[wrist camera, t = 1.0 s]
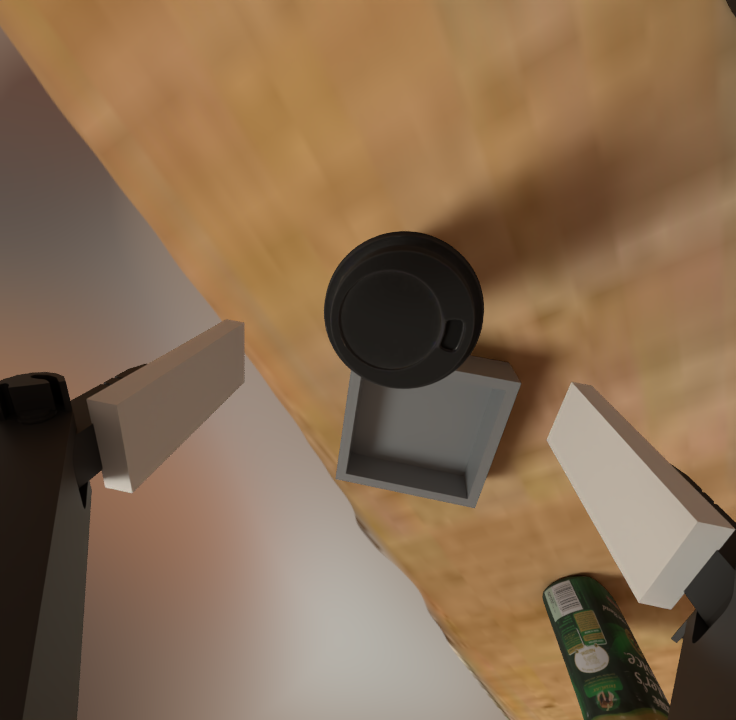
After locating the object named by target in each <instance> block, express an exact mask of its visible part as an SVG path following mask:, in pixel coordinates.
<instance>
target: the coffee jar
mask: <svg viewBox="0 0 736 720" xmlns="http://www.w3.org/2000/svg"><path fill="white" fill-rule="evenodd" d="M543 601H544V604H545V607H546V610H547V613H548V616H549V619H550V622H551V625H552V627H553V630H554V633H555V636H556V639H557V641H558V644H559V647H560V650H561V653H562V656H563V659H564V662H565V664H566V667H567V670H568V673H569V676H570V679H571V682H572V685H573V687H574V690H575V693H576V696H577V699H578V702H579V705H580V708H581V711H582V715H583V718H584V720H667V719H668V714H669V709H670V705H669V703H668V701H667V699H666V697H665V695H664V693H663V691H662V690H661V688H660V686H659V684H658V682H657V680H656V678H655V676H654V674H653V672H652V670H651V668H650V667H649V665H648V663H647V661H646V659H645V657H644V655H643V653H642V651H641V650H640V648H639V646H638V644H637V642H636V640H635V638H634V636H633V634H632V632H631V630H630V628H629V626H628V624H627V622H626V620H625V618H624V616H623V615H622V613H621V611H620V609H619V607H618V605H617V604H616V602H615V600H614V599H613V597H612V596H611V595H610V594H609V592H608V591H607V590H606V589H605V588H604V587H603V586H602V585H600V584H599V583H598V582H597V581H596V580H594V579H592V578H590V577H586V576H585V577H583V576H578V577H566V578H563V579H560V580H558V581H555V582H554V583H552V584H551V585H550V586H549V587H547V588H546V589H545V591H544V592H543Z"/></svg>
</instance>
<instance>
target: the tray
mask: <svg viewBox="0 0 736 720" xmlns="http://www.w3.org/2000/svg"><path fill="white" fill-rule="evenodd" d="M520 385H521V382H520V380H519V379H518V377H517V375H516V374H515V372H514V370H513V369H512V367H511V365H510V364H509V363H508V362H502V361H497V360H491V359H486V358H481V357H475V356H470V355H469V357H468V358H467V359H466V361H465V362H464V363H463V364H462V365H461V366H460V367H459V368H458V369H457V370H455V371H454V372H453V373H452V374H450V375H449V376H447V377H445V378H444V379H442V380H440V381H438V382H436V383H433V384H430V385H427V386H424V387H419V388H412V389H395V388H388V387H384V386H380V385H377V384H374V383H372V382H369V381H367V380H365V379H364V378H362V377H360V376H359V375H357V374H356V373H354V372H353V371H352V370H351V374H350V381H349V388H348V395H347V402H346V409H345V416H344V423H343V430H342V437H341V444H340V451H339V458H338V465H337V472H336V479H338V480H343V481H348V482H353V483H357V484H362V485H367V486H372V487H376V488H381V489H386V490H391V491H395V492H400V493H405V494H410V495H415V496H419V497H424V498H429V499H434V500H438V501H443V502H448V503H453V504H457V505H462V506H467V507H472V508H475V507H476V504H477V501H478V498H479V496H480V493H481V490H482V488H483V485H484V482H485V480H486V477H487V474H488V471H489V469H490V466H491V463H492V461H493V458H494V455H495V453H496V450H497V447H498V445H499V442H500V439H501V436H502V434H503V431H504V428H505V426H506V423H507V420H508V418H509V415H510V412H511V409H512V407H513V404H514V401H515V399H516V396H517V393H518V391H519V388H520Z"/></svg>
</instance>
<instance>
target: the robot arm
mask: <svg viewBox="0 0 736 720" xmlns="http://www.w3.org/2000/svg"><path fill="white" fill-rule="evenodd" d="M726 1H727V4H728V6H729V7H730V9H731V11H732V12H733V14H734V15H735V16H736V0H726ZM243 383H244V322H238V321H233V320H227V319H226V320H224V321H223V322H221V323H219V324H217V325H216V326H214V327H212V328H210V329H208V330H207V331H205V332H203V333H201V334H200V335H198V336H196V337H194V338H193V339H191V340H189V341H187V342H186V343H184V344H182V345H180V346H179V347H177V348H175V349H173V350H172V351H170V352H168V353H166V354H165V355H163V356H161V357H159V358H158V359H156V360H154V361H152V362H151V363H149V364H143V365H140V366H137V367H133V368H130V369H128V370H126V371H124V372H122V373H120V374H119V375H117V376H115V378H111V379H109V380H108V381H106V382H104V384H100V385H99V386H97V387H95V388H93V389H91V390H90V391H88V392H86V393H84V394H82V395H80V396H79V397H77V398H75V399H73V400H71V401H70V397H69V394H68V389H67V385H66V381H65V378H64V376H61V375H59V374H56V373H49V372H40V373H39V372H38V373H29V374H21V375H16V376H13V377H10V378H6V379H3V380H1V381H0V720H77V711H78V696H79V680H80V663H81V647H82V633H83V616H84V602H85V586H86V571H87V555H88V540H89V523H90V507H91V493H92V490H91V486H90V481H89V480H90V479H91V478H93V477H94V476H95V475H96V474H98V473H99V472H100V471H101V470H102V474H103V478H104V482H105V487H106V488H111V489H116V490H120V491H125V492H129V493H133V492H134V491H135V490H136V489H137V488H138V487H139V486H140V485H141V484H142V483H143V482H144V481H145V480H146V479H147V478H148V477H149V476H150V475H151V474H152V473H153V472H154V471H155V470H156V469H157V468H158V467H159V466H160V465H161V464H162V463H163V462H164V461H165V460H166V459H167V458H168V457H169V456H170V455H171V454H172V453H173V452H174V451H175V450H176V449H177V448H178V447H179V446H180V445H181V444H182V443H183V442H184V441H185V440H186V439H187V438H188V437H189V436H190V435H191V434H192V433H193V432H194V431H195V430H196V429H198V427H200V426H201V424H203V422H205V421H206V420H207V419H208V418H209V417H210V415H211V414H212V413H214V412H215V411H216V410H217V409H218V408H219V407H220V405H222V404H223V403H224V402H225V401H226V400H227V399H228V397H230V396H231V395H232V394H233V393H234V392H235V391H236V390H237V389H238V388H239V386H241V385H242V384H243ZM547 442H548V443H549V445H550V447H551V449H552V450H553V452H554V454H555V456H556V457H557V459H558V461H559V463H560V465H561V466H562V468H563V470H564V472H565V473H566V475H567V477H568V479H569V480H570V482H571V484H572V486H573V488H574V489H575V491H576V493H577V495H578V496H579V498H580V500H581V502H582V503H583V505H584V507H585V509H586V511H587V512H588V514H589V516H590V518H591V519H592V521H593V523H594V525H595V526H596V528H597V530H598V532H599V534H600V535H601V537H602V539H603V541H604V542H605V544H606V546H607V548H608V549H609V551H610V553H611V555H612V557H613V558H614V560H615V562H616V564H617V565H618V567H619V569H620V571H621V572H622V574H623V576H624V578H625V580H626V581H627V583H628V585H629V587H630V588H631V590H632V592H633V594H634V595H635V597H636V599H637V601H638V603H642V604H647V605H651V606H656V607H661V608H665V609H670V610H671V609H672V608H673V607H674V605H675V604H676V603H677V602H678V600H679V599H680V598H681V597H682V596H683V594H684V593H685V594H686V596H687V597H688V599H689V600H690V601H691V603H692V604H693V606H694V607H695V611H694V612H693V613H692V614H691V615H690V616H689V618H688V619H687V620H686V621H685V622H684V624H683V625H682V626H681V627H680V628H679V629H678V631H677V632H676V633H675V634H674V635H673V637H672V638H671V639H672V640H673V641H675V642H676V643H677V642H678V641H679V640H680V639H681V638H683V643H682V649H681V654H680V659H679V664H678V669H677V674H676V679H675V684H674V689H673V694H672V699H671V704H670V709H669V714H668V719H667V720H736V522H734V521H733V520H732V519H731V518H730V517H729V516H728V515H727V514H726V513H725V512H724V511H723V510H722V509H721V508H720V507H719V506H718V505H717V504H714V501H713V500H712V499H711V498H710V497H709V496H708V495H707V494H706V493H704V492H702V489H701V488H700V487H699V486H698V485H697V484H696V483H695V482H694V481H693V480H692V479H691V478H690V477H689V476H687V475H686V474H684V473H683V472H681V471H680V470H679V469H677V468H676V467H674V466H673V465H671V464H670V463H669V462H668V461H667V460H666V459H665V458H664V457H663V456H662V455H661V454H660V453H659V452H658V451H657V450H656V449H655V448H654V447H653V446H652V445H651V444H650V443H649V442H648V441H647V440H646V439H645V438H644V437H643V436H642V435H641V434H640V433H639V432H638V431H637V430H636V429H635V428H634V427H633V426H632V425H631V424H630V423H629V422H628V421H627V420H626V419H625V418H624V417H623V416H622V415H621V414H620V413H619V412H618V411H617V410H616V409H615V408H614V407H613V406H612V405H611V404H610V403H609V402H608V401H607V400H606V399H605V398H604V397H603V396H602V395H601V394H600V393H599V392H598V391H597V390H596V389H595V388H594V387H593V386H591V385H586V384H580V383H575V382H571V384H570V387H569V389H568V391H567V394H566V396H565V398H564V401H563V403H562V405H561V408H560V410H559V412H558V415H557V417H556V419H555V422H554V424H553V426H552V429H551V431H550V433H549V436H548V438H547Z"/></svg>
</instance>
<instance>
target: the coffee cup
mask: <svg viewBox="0 0 736 720" xmlns="http://www.w3.org/2000/svg"><path fill="white" fill-rule="evenodd" d="M483 315H484V301H483V294H482V289H481V286H480V283H479V280H478V278H477V276H476V274H475V272H474V270H473V268H472V267H471V266H470V264H469V263H468V261H467V260H466V259H465V258H464V257H463V256H462V255H461V254H460V253H459V252H458V251H457V250H456V249H454V248H453V247H452V246H450V245H449V244H447V243H446V242H444V241H442V240H440V239H438V238H436V237H433V236H430V235H427V234H423V233H418V232H409V231H400V232H391V233H386V234H382V235H379V236H376V237H374V238H371V239H369V240H367V241H365V242H363V243H362V244H360V245H359V246H357V247H356V248H355V249H353V250H352V251H351V252H350V253H349V254H348V255H347V256H346V257H345V258H344V259H343V260H342V261H341V263H340V264H339V265H338V267H337V268H336V270H335V272H334V274H333V276H332V278H331V280H330V283H329V285H328V289H327V293H326V298H325V305H324V319H325V326H326V331H327V334H328V337H329V340H330V342H331V344H332V346H333V348H334V350H335V352H336V353H337V355H338V356H339V358H340V359H341V360H342V361H343V362H344V364H345V365H346V366H347V367H348V368H350V369H351V370H352V371H353V372H354V373H356V374H357V375H359V376H360V377H362V378H364V379H365V380H367V381H369V382H372V383H374V384H377V385H380V386H384V387H388V388H395V389H412V388H419V387H424V386H427V385H430V384H433V383H436V382H438V381H440V380H442V379H444V378H445V377H447V376H449V375H450V374H452V373H453V372H454V371H455V370H457V369H458V368H459V367H460V366H461V365H462V364H463V363H464V362H465V361H466V359H467V358H468V357H469V355H470V354H471V352H472V351H473V349H474V347H475V345H476V343H477V341H478V339H479V336H480V333H481V329H482V324H483Z"/></svg>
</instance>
